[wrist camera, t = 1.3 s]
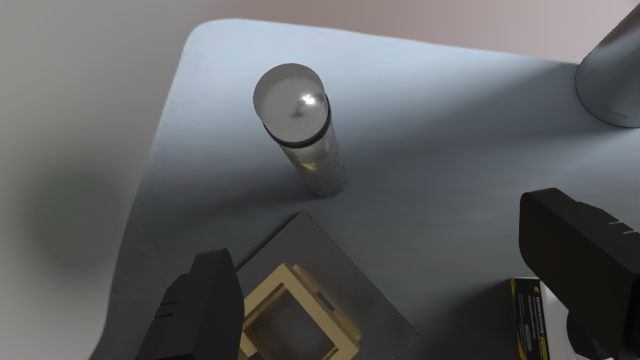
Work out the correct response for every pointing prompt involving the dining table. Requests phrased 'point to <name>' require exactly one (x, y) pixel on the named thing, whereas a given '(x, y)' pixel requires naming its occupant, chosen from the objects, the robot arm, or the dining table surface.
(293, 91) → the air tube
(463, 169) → the dining table surface
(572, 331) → the medicine bottle
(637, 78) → the robot arm
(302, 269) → the collar stand
